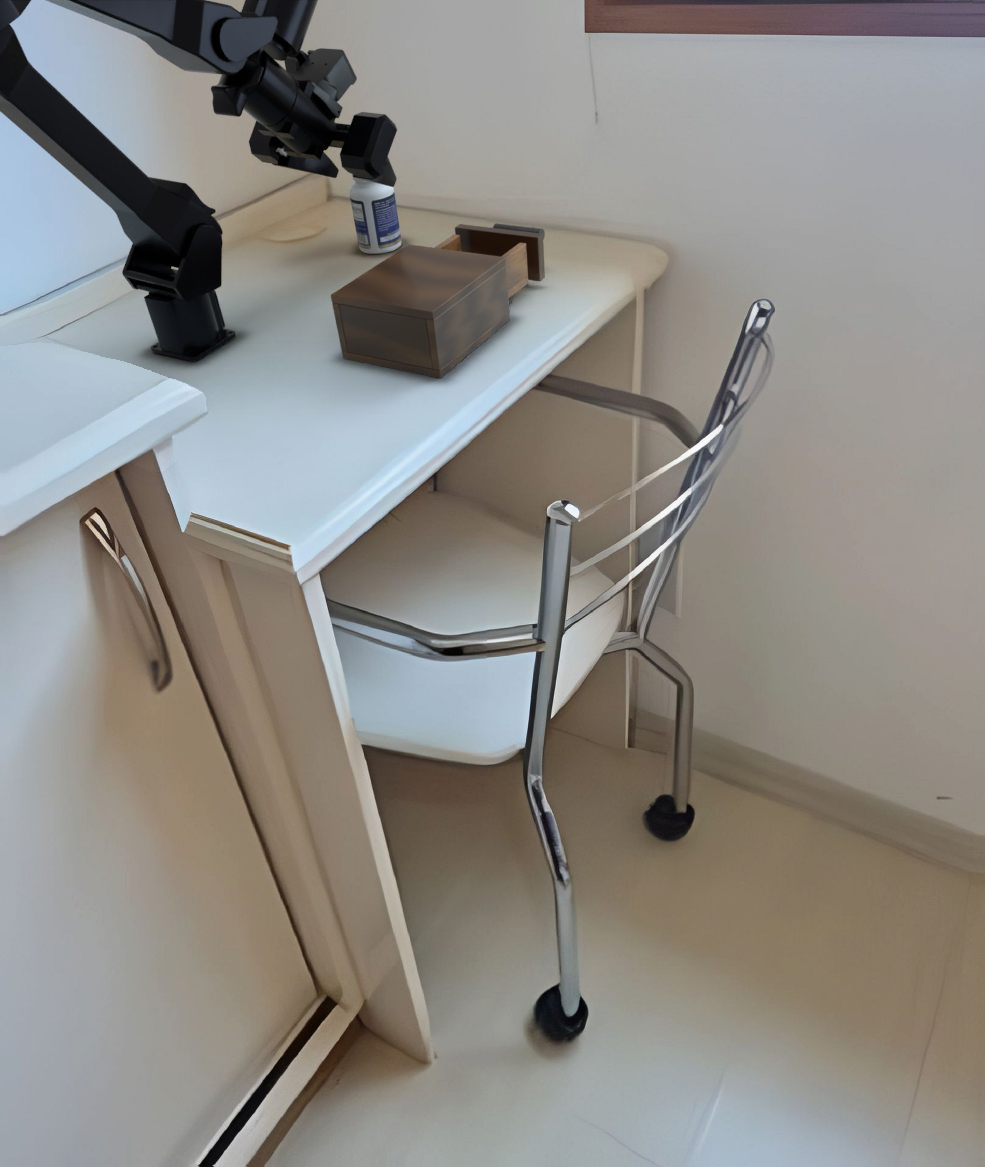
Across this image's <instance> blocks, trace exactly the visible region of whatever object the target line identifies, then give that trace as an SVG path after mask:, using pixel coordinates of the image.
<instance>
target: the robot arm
mask: <svg viewBox="0 0 985 1167" xmlns="http://www.w3.org/2000/svg"><path fill="white" fill-rule="evenodd" d="M318 1H319V0H244V3H243V6H242V9H241V11H239V10H238V9H236V8H235V7H234V6H232V5H230V4H226V3H221V2H217V1H211V0H45V2H49V3H51V4H54V5H56V6H59V7H61V8H63V9H67V10H69V11H72V12H74V13H77V14H79V15H81V16H84V17H86V18H89V19H92V20H94V21H97V22H99V23H102V24H105V25H106V26H109V27H112V28H114V29H117V30H120V31H122V32H124V33H127V34H130V35H132V36H135V37H136V38H138V39H140V40H141V41H143V42H144V43H145V44H147V45H148V46H149V47H150V48H151V49H152V51H153V52H154V53H155V54H157V55H158V56H159V57H161V58H163V59H165V60H166V61H168V62H169V63H170V64H173V65H174V66H176V67H177V68H179V69H180V70H182V71H184V72H190V73H191V72H192V73H199V74H200V73H201V74H211V75H213V74H214V75H220V78H219V80H218V83H217V84H216V85H212V86H210V91H211V94H212V100H211V101H212V110H213V113H214V114H215V115H216V116H217V115H218V116H228V117H235V118H236V117H237V118H239V117H241V116H242V114H243V111H244V112H245V113H247V114H248V115H249V116H251V117H252V118H253V119H254V120H255V123H254V126H253V128H252V132H251V134H250V136H249V140H248V145H249V149H250V153H251V155H253V156H254V157H255V158H256V159H258V161H260V162H261V163H266V164H271V165H272V166H275V167H280V168H285V169H290V170H295V171H300V172H304V173H308V174H309V173H310V174H314V175H319V176H324V177H326V178H327V177H328V178H331V179H337V177H338V175H339V171H340V170H339V168H338V166H337V165H336V164H335V163H334V161H333V160H332V159H331V158H330V157H329V156H328V155H327V154H326V152H324V151H327V150H328V149H329V148H336V149H341V150H340V152H339V157H340V158H339V159H340V164H341V168H343V169H344V170H345V171H346V172H347V173H348V174H351V175H352V174H353V177H354V178H358V179H362V180H366V181H370V182H374V183H378V184H382V185H386V186H390V187H394V188H395V185H396V182H397V176H396V173H395V171H394V168H393V166H392V164H391V161H390V158H389V154H390V151H391V148H392V145H393V143H394V140H395V137H396V134H397V132H398V128H397V126H396V124H395V122H394V121H393V120H392V119H391V118H390V117H389V116H388V115H387V114H385V113H377V112H368V111H367V112H366V111H361V112H358V113H356V114H353V116H352V119H351V122H350V124H347V123H339V122H336V119H340V117H341V115H342V114H341V113H342V111H343V106H342V105H341V104H340V103H339V101H341V99H342V97H343V96H344V95H345V93H346V92H347V91H348V89H349V88H350V87H351V86H354V84H355V83H356V82H357V79H358V77H357V75H356V73H355V71H354V69H353V67H352V64H351V63H350V61H349V59H348V57H347V54H346V52H345V51H344V50H343V49H339V48H325V47H323V48H322V47H321V48H317V49H313V50H312V49H308V51H307V52H306V51H304V50H302V46H303V44H304V42H305V38H306V35H307V32H308V30H309V28H310V24H311V22H312V19H313V16H314V12H315V10H316V7H317V4H318ZM31 2H32V0H0V113H2V114H3V115H4V116H5V117H6V118H7V119H8V120H9V121H11V122H12V123H13V124H14V125H15V126H16V127H18V128H19V129H20V130H21V131H22V132H23V133H25V134H26V135H27V136H28V138H30V139H31V140H32V141H34V142H35V143H36V144H37V145H38V146H39V147H40V148H42V150H44V151H45V152H46V153H47V154H49V156H51V157H52V158H53V159H54V160H55V161H57V162H58V163H59V164H60V165H61V166H62V167H64V168H65V169H66V170H67V171H68V172H69V173H70V174H71V175H72V176H74V177H75V178H76V179H77V180H78V181H80V182H81V184H83V185H84V186H85V187H86V188H88V189H89V190H90V191H91V192H92V193H93V194H95V195H96V196H97V197H98V198H99V199H100V200H102V202H104V203H105V204H106V205H107V206H108V207H109V208H111V209H112V211H113V212H114V213H115V214H116V217H117V220H118V222H119V224H120V226H121V228H122V231H123V233H124V235H125V236H126V237H127V238H128V240H129V241H130V242H131V247H130V248H129V252H128V255H127V257H126V261H125V262H124V265H123V269H122V271H121V273H122V276H123V277H124V279H125V280H126V281H127V283H128V284H129V285H130V287H131V288H132V289H133V290H141V291H144V292H147V293H148V294H147V295H145V296H144V297H143V299H144V302H145V305H146V308H147V311H148V315H149V317H150V320H151V324H152V326H153V329H154V332H155V335H156V338H157V341H158V342H156V343H155V344H153V345H151V346H150V350H151V352H152V353H154V354H159V355H163V356H168V357H172V358H177V359H181V360H185V361H189V362H190V361H191V362H196V361H198V360H200V359H202V358H204V357H205V356H207V355H208V354H210V353H211V352H213V351H215V350H216V349H218V348H220V347H221V346H223V345H225V344H227V343H228V342H229V341H231V340H232V339H234V338H236V337H237V334H236V331H235V330H232V329H227V328H226V323H225V319H224V315H223V312H222V308H221V305H220V302H219V297H218V295H217V289H219V288H221V287H222V283H223V282H222V280H223V279H222V278H223V277H222V274H223V273H222V271H223V270H222V269H223V266H222V265H223V244H224V242H223V236H222V235H223V234H224V231H223V228H222V226H221V224H220V223H219V222H218V220H217V219H216V217H214V216H213V215H214V214H215V213H216V212H217V211H216V209H215V208H213V207H210V206H209V205H207V204H206V203H205V202H203V200H201V199H200V197H199V196H198V194H197V193H196V192H195V190H194V189H193V188H192V187H191V186H190V185H189V184H188V183H186V182H180V181H174V180H170V179H169V180H168V179H163V178H158V177H151V176H148V175H147V174H146V173H145V172H144V171H143V170H142V169H141V168H140V167H139V166H138V165H137V164H136V163H135V162H134V161H133V160H132V159H130V158H129V157H128V156H127V155H126V154H125V153H124V152H123V151H122V150H121V149H120V148H119V147H118V146H116V145H115V144H114V142H112V141H111V140H110V139H109V137H107V136H106V135H105V134H104V133H103V131H101V130H100V129H99V128H98V127H97V126H95V124H94V123H92V122H91V120H90V119H89V118H88V117H86V116H85V115H84V114H83V113H82V112H81V111H80V109H78V108H77V107H76V106H75V105H74V104H72V102H70V100H68V99H67V98H66V96H64V95H63V94H62V93H61V92H60V91H59V90H58V89H57V88H56V87H55V86H53V85H52V84H51V82H49V80H47V79H46V78H45V76H43V75H42V74H41V73H40V72H39V71H38V70H37V69H36V68H34V66H33V65H32V63H30V61H29V59H28V58H27V56H26V53H25V51H24V49H23V47H22V44H21V42H20V40H19V38H18V36H17V33H16V31H15V29H14V28H13V27H12V25H11V24H12V23H13V22H14V21H16V20H17V19H18V18H19V17H21V15H23V13H24V12H25V10H26V9H27V7H28V6H29V4H30V3H31ZM279 62H284V67H285V68H284V67H283V66H282V65H281V64H280V63H279ZM353 177H352V178H353ZM175 268H177V269H175Z"/></svg>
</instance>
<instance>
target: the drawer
mask: <svg viewBox="0 0 985 1167" xmlns="http://www.w3.org/2000/svg"><path fill="white" fill-rule="evenodd" d="M545 234H546V232H545V229H544V228H541V227H531V226H530V227H529V226H522V225H513V224H504V223H494V224H493V226H492V227H489V226H480V225H471V224H463V223H460V224H458V225H457V226H455V227H454V234H452V235H450V236H449V237H447V238H446V239H445V240H444V241H442V242H440V243H439V244H437V245H436V246H434V247H433V248H439V249H447V250H454V251H462V252H469V253H477V254H484V255H492V256H499V257H505V258H506V272H507V286H508V300H509V299H510V298H512V297H513V296H514V295H516V294H517V293H518V292H519V291H520V290H522V289H523V288H524V287H525V286H527V284H529V281H534V282H542V281H543V280H545V278H546V269H545V246H544V239H545Z"/></svg>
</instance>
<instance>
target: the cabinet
mask: <svg viewBox="0 0 985 1167" xmlns="http://www.w3.org/2000/svg"><path fill="white" fill-rule="evenodd" d="M330 299H331V305H332V310H333V315H334V319H335V325H336V330H337V335H338V340H339V345H340V349H341V355H342V359H345V360H349V361H355V362H358V363H364V364H369V365H375V366H378V367H383V368H389V369H392V370H393V369H394V370H398V371H403V372H408V373H414V374H417V375H423V376H428V377H432V378H437V379H442V378H443V377H444V376H445V375H446V374H448V373H449V372H450V371H451V370H452V369H454V368H455V367H456V366H457V365H458V364H459V363H461V362H462V361H463V360H464V359H465V358H467V357H468V356H469V355H470V354H472V352H474V351H475V350H476V349H477V348H479V346H481V345H483V343H484V342H486V341H487V340H488V339H489V338H491V337H492V336H493V335H494V334H495V333H497V332H498V331H499V330H500V329H501V328H502V327H504V326H505V325H506V324H507V323H508V322H510V321H511V315H510V305H509V304H510V302H509V299H508V286H507V272H506V258H505V257H499V256H492V255H484V254H477V253H469V252H462V251H454V250H447V249H439V248H434V247H430V246H424V245H417V244H416V245H415V244H408V245H406V246H405V247H403V248H401V249H400V250H397V252H395V253H394V254H392V255H390V256H389V257H387V258H386V259H384V260H383V261H381V262H379V263H378V264H376V265H375V266H373V267H372V268H370V269H368V270H367V271H365V272H364V273H363V274H361V275H359V276H357V277H356V278H355V279H353V280H351V281H350V282H348V283H347V284H344V285H343V286H342V287H340V288H339V289H337V290H336V291H334V292H333V293H331V294H330Z"/></svg>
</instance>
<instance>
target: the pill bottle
mask: <svg viewBox="0 0 985 1167" xmlns="http://www.w3.org/2000/svg"><path fill="white" fill-rule="evenodd" d="M351 177H352V180H353V181H354V183H353V184H352V185H351V186H350V188H349V199H350V205H351V211H352V217H353V221H354V228H355V233H356V240H357V243H358V248H359V250H360V251H361V252H363V253H365V254H368V255H369V254H370V255H377V254H386V253H390V252H393V251H395V250H397V249H399V248H400V247H401V245H402V241H403V240H402V233H401V228H400V227H401V226H400V220H399V213H398V206H397V201H396V193H395V186H394V187H390V186H386V185H382V184H378V183H374V182H370V181H366V180H362V179H358V178H354V177H353V174H351Z"/></svg>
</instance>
